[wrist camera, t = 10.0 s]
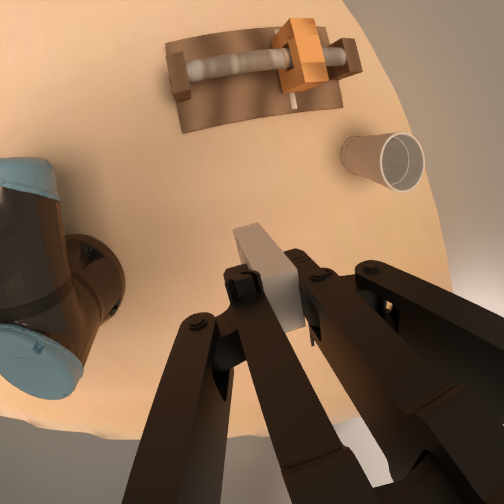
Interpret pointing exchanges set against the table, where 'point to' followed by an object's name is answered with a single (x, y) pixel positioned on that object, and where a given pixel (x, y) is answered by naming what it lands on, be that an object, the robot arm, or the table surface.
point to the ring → (301, 55)
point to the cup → (386, 159)
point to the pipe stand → (248, 77)
